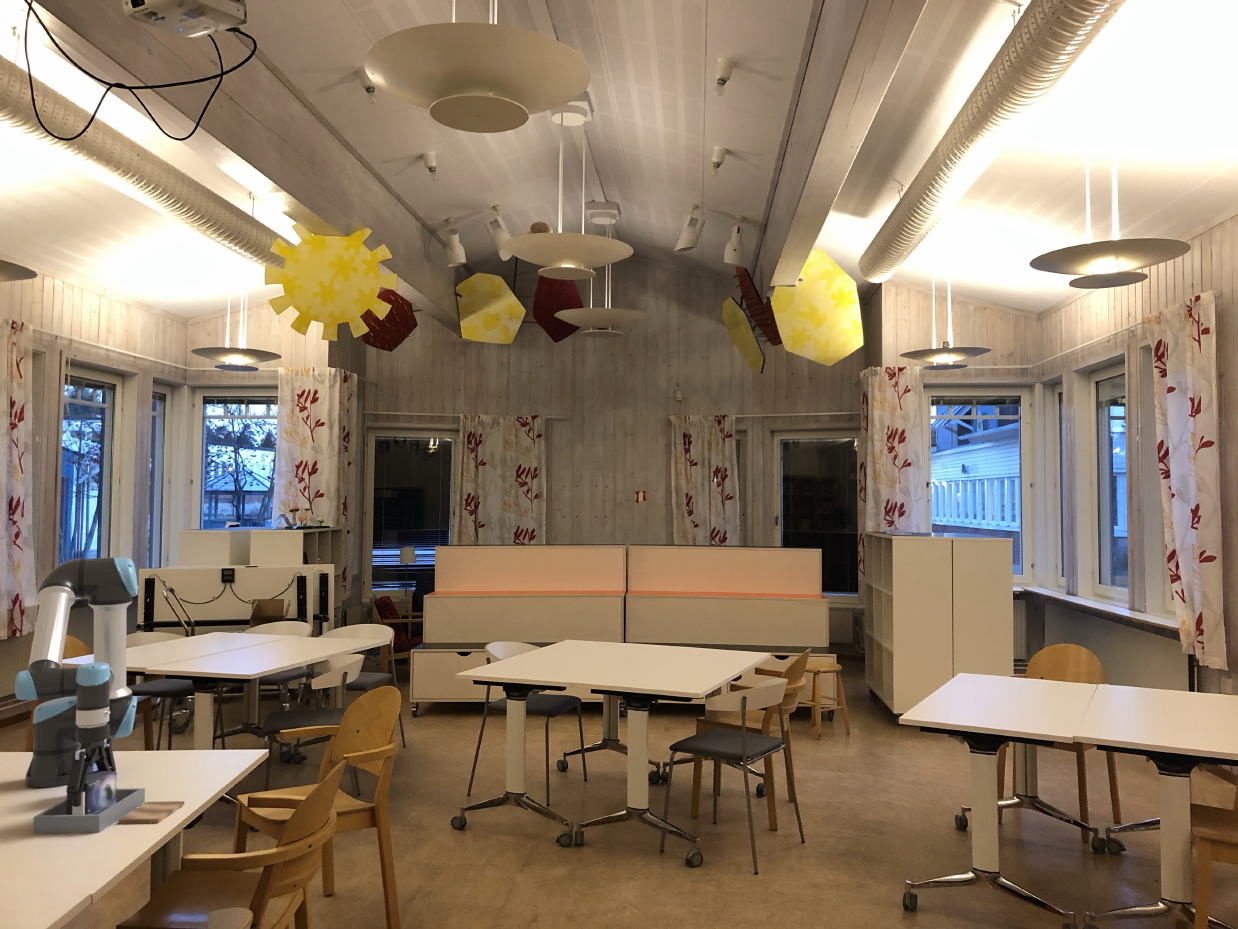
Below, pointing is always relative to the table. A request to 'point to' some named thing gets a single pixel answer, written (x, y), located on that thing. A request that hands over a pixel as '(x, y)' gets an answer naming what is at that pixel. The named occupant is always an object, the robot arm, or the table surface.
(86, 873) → the table surface
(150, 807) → the board
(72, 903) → the table surface
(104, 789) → the small box
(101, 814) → the bin
